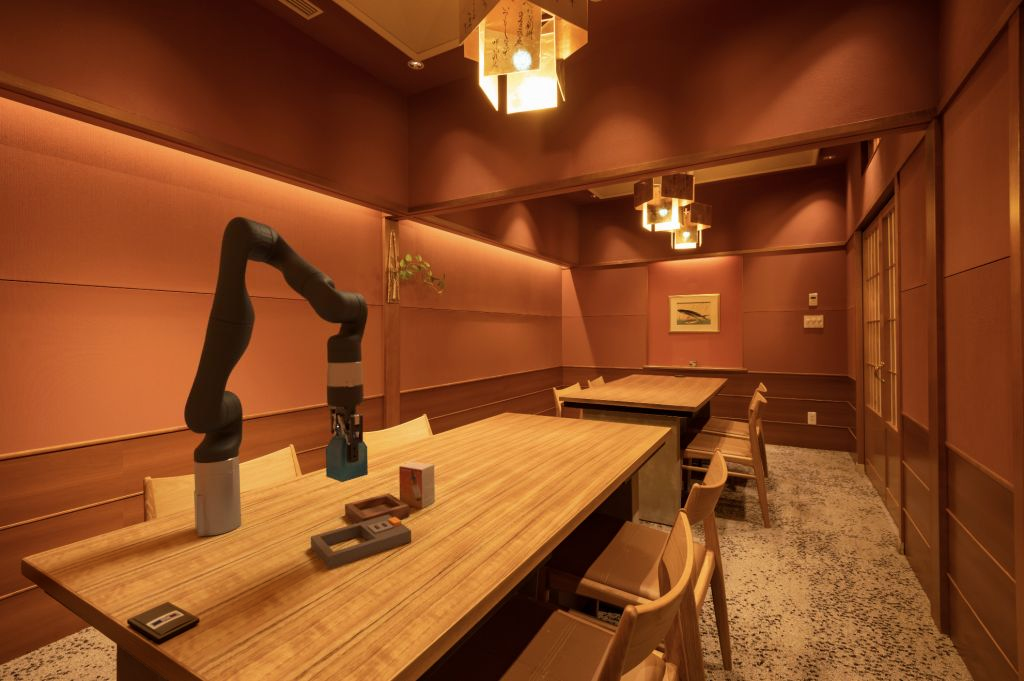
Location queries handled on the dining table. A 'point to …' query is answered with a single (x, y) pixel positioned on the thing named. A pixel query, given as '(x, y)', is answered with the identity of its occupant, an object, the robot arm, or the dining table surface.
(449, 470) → the dining table surface
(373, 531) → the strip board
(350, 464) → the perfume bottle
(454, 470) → the dining table surface
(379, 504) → the walnut tray
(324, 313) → the robot arm
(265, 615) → the dining table surface
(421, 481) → the small box
